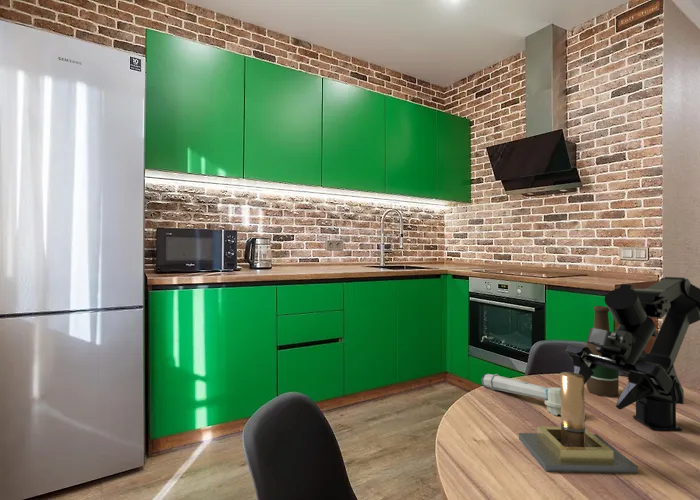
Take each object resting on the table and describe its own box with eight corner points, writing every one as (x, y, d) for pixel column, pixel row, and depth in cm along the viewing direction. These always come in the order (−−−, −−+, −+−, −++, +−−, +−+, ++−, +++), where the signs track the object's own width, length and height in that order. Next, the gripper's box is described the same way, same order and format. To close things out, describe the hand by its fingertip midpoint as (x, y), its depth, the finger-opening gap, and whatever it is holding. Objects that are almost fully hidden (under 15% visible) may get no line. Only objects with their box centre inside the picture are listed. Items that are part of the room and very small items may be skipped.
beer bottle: (590, 385, 112) (589, 304, 112) (622, 392, 107) (621, 306, 107) (582, 392, 107) (581, 306, 107) (614, 399, 101) (614, 309, 101)
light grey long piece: (491, 371, 114) (574, 384, 92) (494, 394, 113) (578, 413, 91) (479, 374, 111) (561, 388, 90) (481, 398, 110) (565, 418, 89)
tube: (572, 441, 76) (571, 371, 77) (590, 451, 72) (589, 377, 73) (556, 444, 75) (555, 373, 76) (573, 454, 71) (572, 379, 72)
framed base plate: (596, 440, 80) (596, 424, 80) (637, 473, 68) (637, 455, 68) (518, 438, 80) (518, 423, 80) (545, 471, 68) (545, 453, 68)
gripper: (570, 307, 87) (534, 362, 83) (662, 321, 70) (622, 391, 66) (594, 338, 90) (561, 392, 86) (689, 359, 73) (652, 428, 69)
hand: (594, 399), depth 76 cm, fingers open, 9 cm apart
